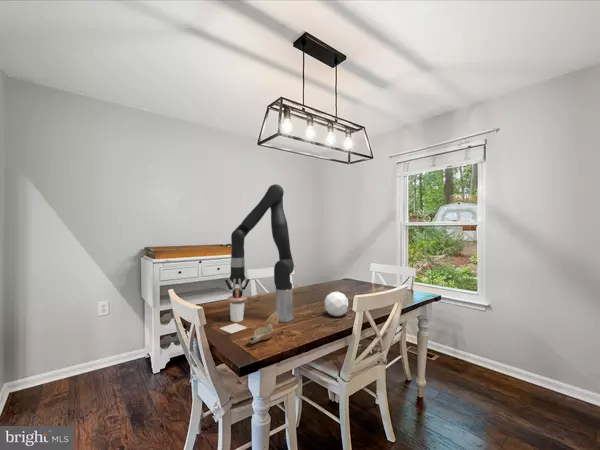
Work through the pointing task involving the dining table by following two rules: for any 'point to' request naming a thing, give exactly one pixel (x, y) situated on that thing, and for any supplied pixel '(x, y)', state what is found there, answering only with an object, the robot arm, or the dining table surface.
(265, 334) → the oil lamp
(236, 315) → the white cup
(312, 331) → the dining table surface
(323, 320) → the dining table surface
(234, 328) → the mat
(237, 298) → the lid
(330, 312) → the geodesic sphere
